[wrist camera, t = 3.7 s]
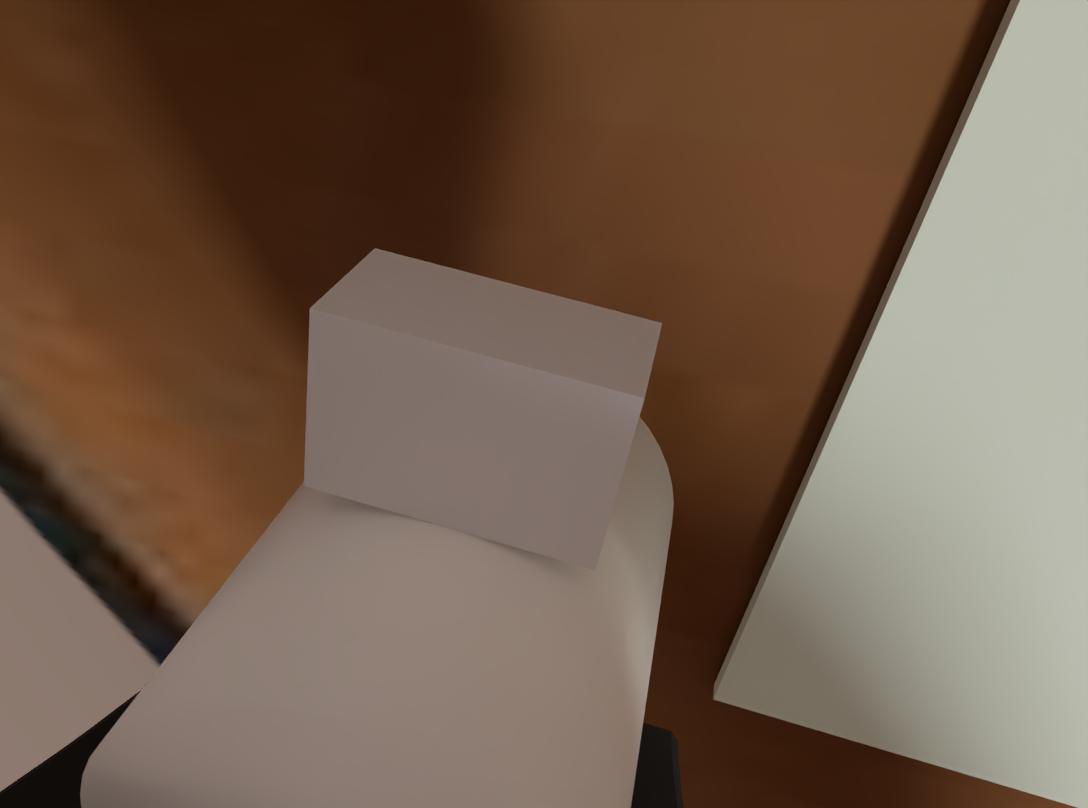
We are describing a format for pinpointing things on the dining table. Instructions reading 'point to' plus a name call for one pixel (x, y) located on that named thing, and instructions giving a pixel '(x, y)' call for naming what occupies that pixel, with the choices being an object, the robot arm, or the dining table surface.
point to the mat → (957, 462)
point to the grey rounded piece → (430, 571)
